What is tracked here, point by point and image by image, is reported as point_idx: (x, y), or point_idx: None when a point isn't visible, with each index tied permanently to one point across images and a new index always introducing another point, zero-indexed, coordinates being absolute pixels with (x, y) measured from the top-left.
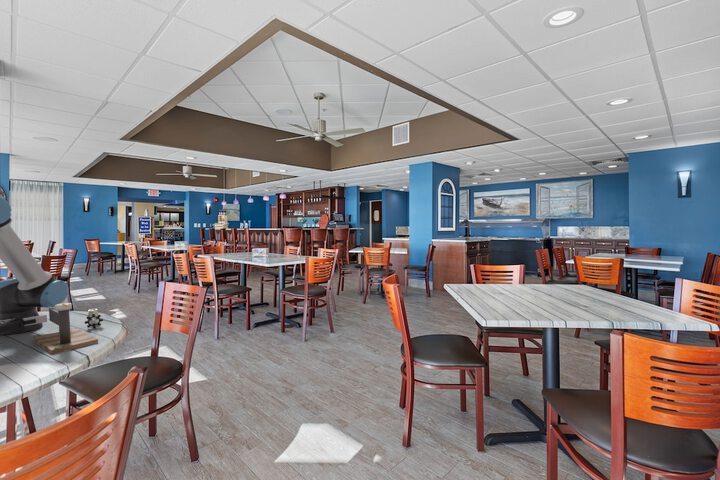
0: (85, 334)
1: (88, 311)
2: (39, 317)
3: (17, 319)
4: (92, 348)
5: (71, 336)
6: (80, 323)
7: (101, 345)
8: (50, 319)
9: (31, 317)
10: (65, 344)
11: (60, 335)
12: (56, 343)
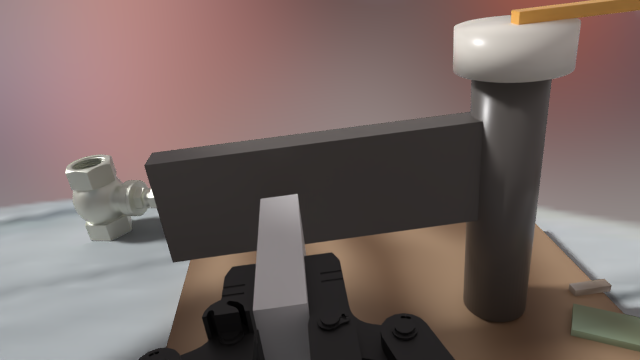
0: (380, 240)
1: (88, 175)
2: (301, 231)
3: (225, 356)
4: (626, 248)
5: (365, 280)
6: (38, 261)
7: (586, 226)
8: (199, 246)
9: (286, 258)
10: (552, 305)
11: (522, 271)
12: (487, 338)
